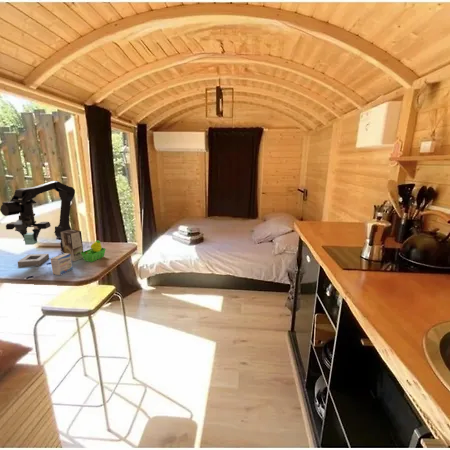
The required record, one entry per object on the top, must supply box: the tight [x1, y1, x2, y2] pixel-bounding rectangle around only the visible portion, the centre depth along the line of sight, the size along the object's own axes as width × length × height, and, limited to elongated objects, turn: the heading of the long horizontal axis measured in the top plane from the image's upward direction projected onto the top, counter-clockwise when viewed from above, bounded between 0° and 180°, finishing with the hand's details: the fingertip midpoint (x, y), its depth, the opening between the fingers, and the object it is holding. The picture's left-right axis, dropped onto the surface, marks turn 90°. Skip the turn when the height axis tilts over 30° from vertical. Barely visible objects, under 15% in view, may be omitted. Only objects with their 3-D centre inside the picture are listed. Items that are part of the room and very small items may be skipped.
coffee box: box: [61, 228, 84, 262], centre depth 143 cm, size 9×6×16 cm
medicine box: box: [50, 252, 73, 276], centre depth 126 cm, size 8×4×9 cm, turn 168°
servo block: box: [23, 232, 38, 246], centre depth 136 cm, size 4×7×6 cm, turn 11°
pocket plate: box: [17, 253, 50, 267], centre depth 138 cm, size 10×11×2 cm
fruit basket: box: [81, 240, 107, 263], centre depth 143 cm, size 11×9×11 cm
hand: (31, 240), depth 137 cm, fingers closed on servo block, 4 cm apart
